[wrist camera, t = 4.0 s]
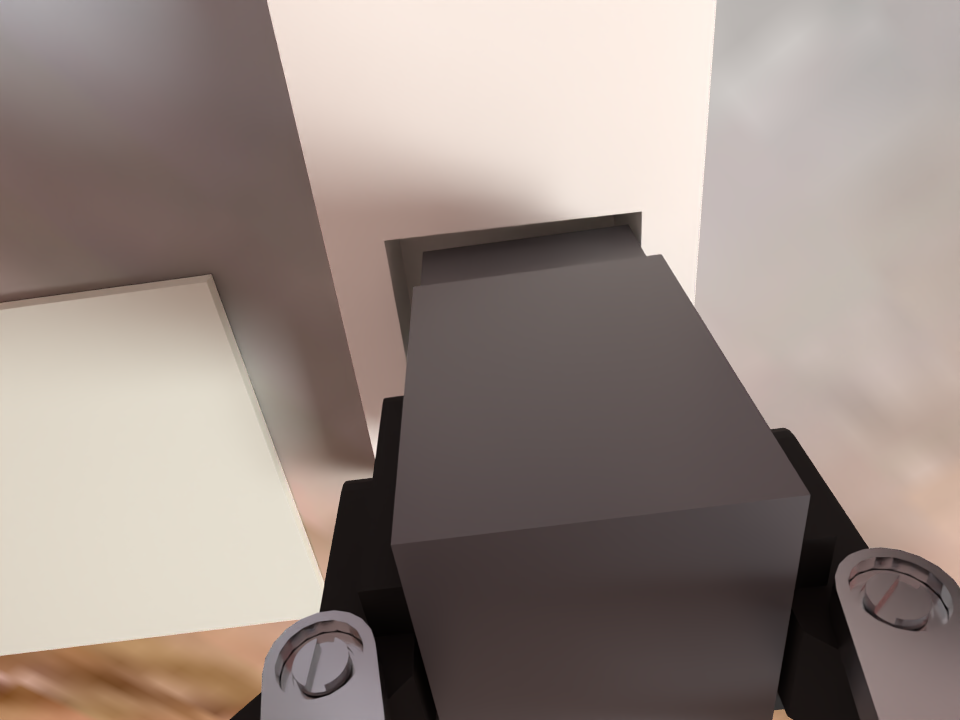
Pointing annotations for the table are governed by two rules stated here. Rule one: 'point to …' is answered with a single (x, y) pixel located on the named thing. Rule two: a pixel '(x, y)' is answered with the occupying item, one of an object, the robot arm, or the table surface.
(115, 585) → the mat
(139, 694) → the table surface
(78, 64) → the table surface
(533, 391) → the grey rectangular block
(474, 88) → the long white plastic board
